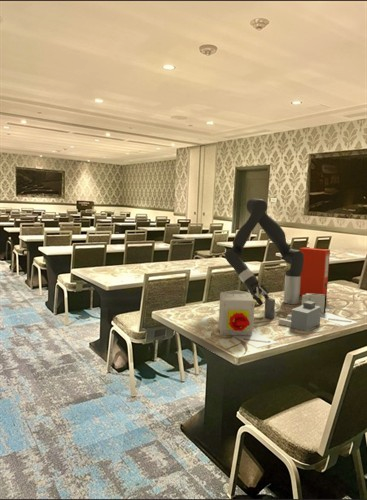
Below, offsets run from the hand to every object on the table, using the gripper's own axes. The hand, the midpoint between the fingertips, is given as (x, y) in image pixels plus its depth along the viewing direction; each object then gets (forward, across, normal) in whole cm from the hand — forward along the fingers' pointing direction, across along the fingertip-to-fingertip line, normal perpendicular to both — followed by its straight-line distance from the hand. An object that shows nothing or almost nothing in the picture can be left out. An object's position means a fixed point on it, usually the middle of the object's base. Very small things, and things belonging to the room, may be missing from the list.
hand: (265, 303), depth 197 cm
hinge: (+16, +28, -5) cm, 32 cm away
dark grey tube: (+7, 0, +4) cm, 8 cm away
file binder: (+4, +63, +7) cm, 64 cm away
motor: (+18, +4, -8) cm, 20 cm away
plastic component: (-8, +13, +20) cm, 25 cm away
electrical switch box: (+9, -34, +2) cm, 35 cm away
